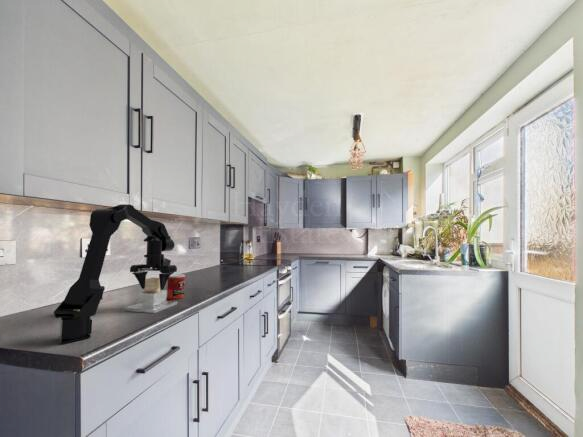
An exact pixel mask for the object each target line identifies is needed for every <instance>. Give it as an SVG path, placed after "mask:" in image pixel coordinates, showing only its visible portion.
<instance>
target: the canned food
mask: <svg viewBox="0 0 583 437" xmlns="http://www.w3.org/2000/svg"><path fill="white" fill-rule="evenodd" d="M185 283H186V274H182V273H176V274H175V273H173V274H171V275H170V276H169V278H168V280H167V285H166V286H167V289H166V290H167V296H166V299H167V300H168V301H178V300H182V299H184V298H185V285H186V284H185Z"/></svg>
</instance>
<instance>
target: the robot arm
mask: <svg viewBox="0 0 583 437" xmlns="http://www.w3.org/2000/svg"><path fill="white" fill-rule="evenodd" d="M125 220H128V221H130V222H131V223H133V224H135V226H138V227H139V228H140V229H141V231H142V232H143V234H145V236H147V237H146V238H144V239H143V242H146V254H144V255H143V258H146V259H145V264H143V263H139V264H133V265H132V264H131V266H130V267H129V272H130V273H132V275H134V277H135V278H136V279H137V280H136V281H137V282H138V284H139V286H140V287H141V289H142V290H145V279H147V278H146V277H147V275H148V273H149V271H151V272H160V273H158V278H159V279H160V290H165V287H166V284H167V283H168V278H169V276H170V275H173V274H175V273H176V272H177V271H178V267H177V265H175V264H171V263H172V260H171V259H169V258H166V257H165V255H164V253H162V252H170V251H171V252H172V250H173V249H174V248H175V242H174V240H173V239H172V238H171V237H172V236H170V235H169V233H168V230H167V228H166V226H165V224H164V223H163V222H161V221H159V220H153V219H151V218H149V217H148V216H147V215H145V214H143V213H142V212H141V211H140V210H138V209H137V208H135V207H134V205H133V204H130V203H129V204H128V203H127V204H123V203H121V204H117V205H115V206H112V207H108V208H98V209H97V208H96V209H95V210H92V212H91V214H90V218H89V223H88V225H89V229H90V231H91V236H90V240H89V243H88V247H87V249H86V250H87V251H86V252H85V258H84V260H83V264H82V268H81V271H80V275H79V277H78V279H77V280H76V281H75V282H74V283H73V284H72V285H71V286H70V287H69V289H68V291H67V293H66V295H65V298H64V300H62V301H61V303H60V304H59V305H58V306H57V307H56V309H55V310H54V311H53V315H54V318H56V319H60V329H59V336H58V337H57V339H58V341H59V343H60V344H62V345H63V344H64V345H65V344H68V343H72V342H77V341H80V340H85V339H90V338H91V334H92V329H93V319H92V318H91V317H92V316H93V317H94V316H95V315H96V314H97V310H98V308H99V304H100V303H101V301H102V300H103V296H104V291H105V286H104V285H101V283H100V277H101V274H102V268H103V266H104V263H105V258H106V255H107V251H108V247H109V245H110V244H109V243H110V239H111V236H112V235H113V234H115V233H116V231H118V230H119V227H120V225H121V224H122V221H125ZM74 310H78V311H74Z"/></svg>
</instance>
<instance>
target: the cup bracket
mask: <svg viewBox="0 0 583 437" xmlns="http://www.w3.org/2000/svg"><path fill="white" fill-rule="evenodd" d="M176 305H178V300H167V289H163V290H161V289H160V292H157V293H145V290H144V291H141V292H137V303H135V304H132V305H129V306H125V307H124V309H123V311H124V312H131V313H132V312H133V313H134V312H135V313H149V314H150V313H151V314H156V313H158V312H161V311H163V310H166V309H168V308H171V307H173V306H176Z"/></svg>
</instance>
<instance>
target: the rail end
mask: <svg viewBox="0 0 583 437" xmlns="http://www.w3.org/2000/svg"><path fill="white" fill-rule="evenodd" d="M160 290H161V287H160V279H159V277H148V278H146V279H145V288H144V291H145V293H157V292H160Z"/></svg>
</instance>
